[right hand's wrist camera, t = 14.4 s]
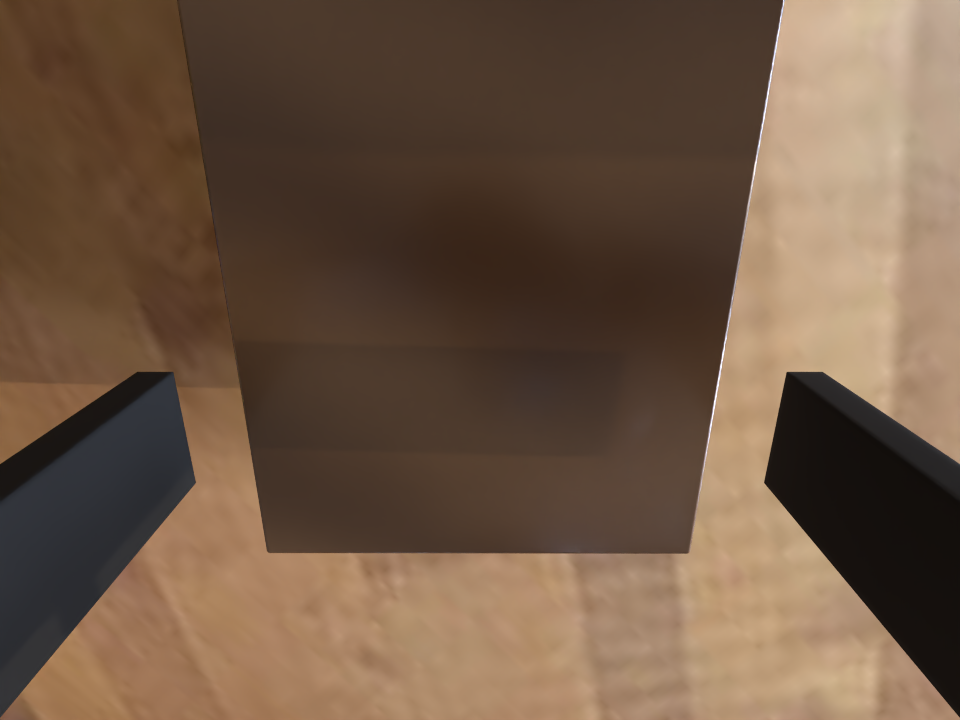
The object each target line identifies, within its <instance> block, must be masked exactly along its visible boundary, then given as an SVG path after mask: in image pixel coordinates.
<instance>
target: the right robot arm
mask: <svg viewBox="0 0 960 720" xmlns="http://www.w3.org/2000/svg"><path fill="white" fill-rule="evenodd" d="M195 483H196V481H195V476H194V471H193V466H192V462H191V457H190V452H189V447H188V442H187V437H186V432H185V427H184V422H183V418H182V413H181V408H180V403H179V398H178V393H177V388H176V383H175V378H174V373H173V372H137V373H135V374H134V375H132V376H131V377H129V378H128V379H126V380H125V381H123V382H122V383H120V384H119V385H117V386H116V387H114V388H113V389H111V390H110V391H108V392H107V393H105V394H104V395H102V396H101V397H99V398H98V399H97V400H95V401H94V402H92V403H91V404H89V405H88V406H86V407H85V408H83V409H82V410H80V411H79V412H77V413H76V414H74V415H73V416H71V417H70V418H68V419H67V420H65V421H64V422H62V423H61V424H59V425H58V426H56V427H55V428H53V429H52V430H50V431H49V432H47V433H46V434H44V435H43V436H41V437H40V438H38V439H37V440H36V441H34V442H33V443H31V444H30V445H28V446H27V447H25V448H24V449H22V450H21V451H19V452H18V453H16V454H15V455H13V456H12V457H10V458H9V459H7V460H6V461H4V462H3V463H1V464H0V717H1V716H2V715H3V714H4V712H5V711H6V710H7V709H8V708H9V706H10V705H11V704H12V703H13V702H14V700H15V699H16V698H17V697H18V696H19V694H20V693H21V692H22V691H23V690H24V688H25V687H26V686H27V685H28V684H29V682H30V681H31V680H32V679H33V678H34V676H35V675H36V674H37V673H38V672H39V670H40V669H41V668H42V667H43V666H44V664H45V663H46V662H47V661H48V660H49V658H50V657H51V656H52V655H53V654H54V652H55V651H56V650H57V649H58V648H59V646H60V645H61V644H62V643H63V642H64V640H65V639H66V638H67V637H68V636H69V634H70V633H71V632H72V631H73V630H74V628H75V627H76V626H77V625H78V624H79V622H80V621H81V620H82V619H83V618H84V616H85V615H86V614H87V613H88V612H89V610H90V609H91V608H92V607H93V606H94V604H95V603H96V602H97V601H98V600H99V598H100V597H101V596H102V595H103V594H104V592H105V591H106V590H107V589H108V588H109V586H110V585H111V584H112V583H113V582H114V580H115V579H116V578H117V577H118V576H119V574H120V573H121V572H122V571H123V570H124V568H125V567H126V566H127V565H128V564H129V562H130V561H131V560H132V559H133V558H134V556H135V555H136V554H137V553H138V552H139V550H140V549H141V548H142V547H143V546H144V544H145V543H146V542H147V541H148V540H149V538H150V537H151V536H152V535H153V534H154V532H155V531H156V530H157V529H158V528H159V526H160V525H161V524H162V523H163V522H164V520H165V519H166V518H167V517H168V516H169V514H170V513H171V512H172V511H173V510H174V508H175V507H176V506H177V505H178V504H179V502H180V501H181V500H182V499H183V498H184V496H185V495H186V494H187V493H188V492H189V490H190V489H191V488H192V487H193V486H194V484H195ZM764 483H765V484H766V486H767V487H768V488H769V489H770V490H771V492H772V493H773V494H774V495H775V496H776V498H777V499H778V500H779V501H780V502H781V504H782V505H783V506H784V507H785V508H786V510H787V511H788V512H789V513H790V514H791V516H792V517H793V518H794V519H795V520H796V522H797V523H798V524H799V525H800V526H801V528H802V529H803V530H804V531H805V532H806V534H807V535H808V536H809V537H810V538H811V540H812V541H813V542H814V543H815V544H816V546H817V547H818V548H819V549H820V550H821V552H822V553H823V554H824V555H825V556H826V558H827V559H828V560H829V561H830V562H831V564H832V565H833V566H834V567H835V568H836V570H837V571H838V572H839V573H840V574H841V576H842V577H843V578H844V579H845V580H846V582H847V583H848V584H849V585H850V586H851V588H852V589H853V590H854V591H855V592H856V594H857V595H858V596H859V597H860V598H861V600H862V601H863V602H864V603H865V604H866V606H867V607H868V608H869V609H870V610H871V612H872V613H873V614H874V615H875V616H876V618H877V619H878V620H879V621H880V622H881V624H882V625H883V626H884V627H885V628H886V630H887V631H888V632H889V633H890V634H891V636H892V637H893V638H894V639H895V640H896V642H897V643H898V644H899V645H900V646H901V648H902V649H903V650H904V651H905V652H906V654H907V655H908V656H909V657H910V658H911V660H912V661H913V662H914V663H915V664H916V666H917V667H918V668H919V669H920V670H921V672H922V673H923V674H924V675H925V676H926V678H927V679H928V680H929V681H930V682H931V684H932V685H933V686H934V687H935V688H936V690H937V691H938V692H939V693H940V694H941V696H942V697H943V698H944V699H945V700H946V702H947V703H948V704H949V705H950V706H951V708H952V709H953V710H954V711H955V712H956V714H957V715H958V716H959V717H960V464H959V463H957V462H956V461H954V460H953V459H951V458H950V457H948V456H947V455H945V454H944V453H942V452H941V451H939V450H938V449H936V448H935V447H933V446H932V445H930V444H929V443H927V442H926V441H924V440H923V439H922V438H920V437H919V436H917V435H916V434H914V433H913V432H911V431H910V430H908V429H907V428H905V427H904V426H902V425H901V424H899V423H898V422H896V421H895V420H893V419H892V418H890V417H889V416H887V415H886V414H884V413H883V412H881V411H880V410H878V409H877V408H875V407H874V406H872V405H871V404H869V403H868V402H866V401H865V400H863V399H862V398H861V397H859V396H858V395H856V394H855V393H853V392H852V391H850V390H849V389H847V388H846V387H844V386H843V385H841V384H840V383H838V382H837V381H835V380H834V379H832V378H831V377H829V376H828V375H826V374H825V373H823V372H787V373H786V378H785V383H784V388H783V393H782V398H781V403H780V408H779V413H778V418H777V422H776V427H775V432H774V437H773V442H772V447H771V452H770V457H769V462H768V466H767V471H766V476H765V481H764Z"/></svg>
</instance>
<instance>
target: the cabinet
mask: <svg viewBox="0 0 960 720" xmlns="http://www.w3.org/2000/svg"><path fill="white" fill-rule="evenodd" d="M784 1H785V0H177V2H178V8H179V15H180V21H181V27H182V33H183V39H184V45H185V51H186V57H187V64H188V70H189V76H190V82H191V88H192V94H193V100H194V106H195V113H196V119H197V125H198V131H199V137H200V143H201V149H202V155H203V162H204V168H205V174H206V180H207V186H208V192H209V198H210V204H211V211H212V217H213V223H214V229H215V235H216V241H217V247H218V253H219V259H220V266H221V272H222V278H223V284H224V290H225V296H226V302H227V308H228V315H229V321H230V327H231V333H232V339H233V345H234V351H235V357H236V364H237V370H238V376H239V382H240V388H241V394H242V400H243V406H244V413H245V419H246V425H247V431H248V437H249V443H250V449H251V455H252V462H253V468H254V474H255V480H256V486H257V492H258V498H259V504H260V511H261V517H262V523H263V529H264V535H265V541H266V547H267V552H269V553H689V552H690V548H691V542H692V536H693V530H694V524H695V519H696V513H697V507H698V501H699V495H700V490H701V484H702V478H703V472H704V466H705V460H706V455H707V449H708V443H709V437H710V431H711V426H712V420H713V414H714V408H715V402H716V396H717V391H718V385H719V379H720V373H721V367H722V362H723V356H724V350H725V344H726V338H727V333H728V327H729V321H730V315H731V309H732V303H733V298H734V292H735V286H736V280H737V274H738V269H739V263H740V257H741V251H742V245H743V240H744V234H745V228H746V222H747V216H748V210H749V205H750V199H751V193H752V187H753V181H754V176H755V170H756V164H757V158H758V152H759V147H760V141H761V135H762V129H763V123H764V117H765V112H766V106H767V100H768V94H769V88H770V83H771V77H772V71H773V65H774V59H775V53H776V48H777V42H778V36H779V30H780V24H781V19H782V13H783V7H784Z"/></svg>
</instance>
